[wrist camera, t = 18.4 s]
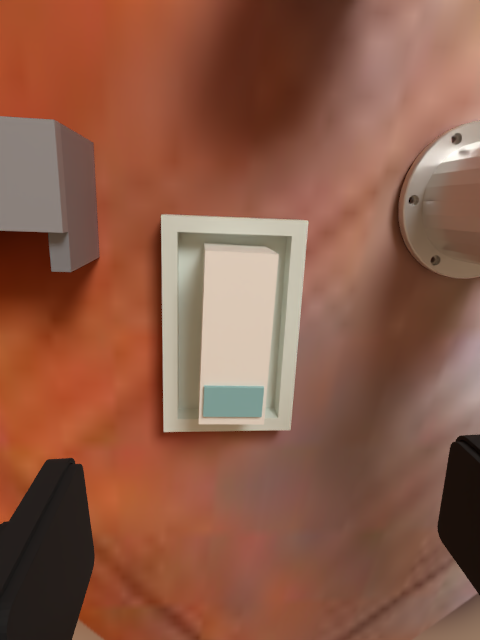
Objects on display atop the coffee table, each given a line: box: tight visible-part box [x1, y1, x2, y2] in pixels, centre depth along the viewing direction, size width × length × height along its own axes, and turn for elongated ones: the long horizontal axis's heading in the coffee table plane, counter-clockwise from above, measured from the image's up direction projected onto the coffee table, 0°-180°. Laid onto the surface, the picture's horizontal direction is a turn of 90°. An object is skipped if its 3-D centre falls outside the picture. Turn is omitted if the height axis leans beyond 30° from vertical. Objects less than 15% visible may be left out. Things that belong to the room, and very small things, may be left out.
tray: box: [161, 214, 308, 432], centre depth 34 cm, size 11×18×2 cm, turn 178°
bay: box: [0, 116, 99, 272], centre depth 27 cm, size 10×9×8 cm
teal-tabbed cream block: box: [199, 243, 279, 425], centre depth 31 cm, size 5×13×6 cm, turn 176°
